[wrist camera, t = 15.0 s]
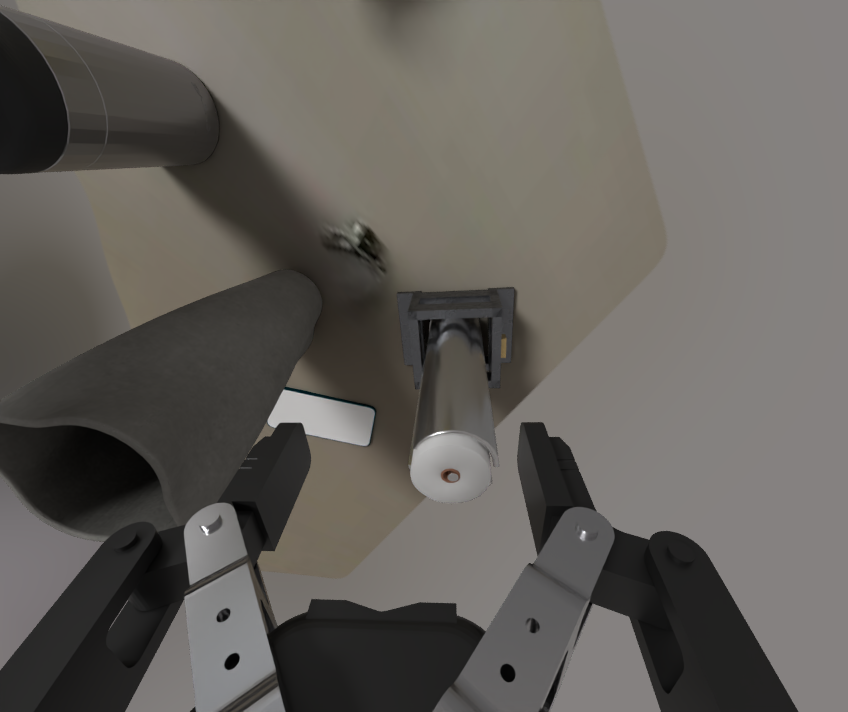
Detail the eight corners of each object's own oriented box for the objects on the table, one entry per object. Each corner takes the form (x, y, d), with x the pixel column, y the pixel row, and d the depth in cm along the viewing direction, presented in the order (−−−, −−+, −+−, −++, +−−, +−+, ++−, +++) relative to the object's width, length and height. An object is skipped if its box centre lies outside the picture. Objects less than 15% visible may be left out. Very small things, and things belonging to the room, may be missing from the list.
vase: (334, 355, 51) (203, 573, 24) (245, 336, 50) (16, 538, 24) (341, 267, 45) (178, 432, 18) (240, 246, 44) (-72, 383, 18)
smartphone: (377, 404, 55) (269, 381, 54) (376, 408, 54) (267, 385, 53) (370, 444, 59) (269, 423, 58) (368, 448, 58) (266, 427, 57)
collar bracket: (405, 362, 50) (398, 389, 45) (397, 292, 46) (389, 312, 40) (510, 360, 49) (517, 387, 43) (513, 287, 44) (522, 307, 39)
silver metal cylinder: (455, 359, 49) (454, 522, 28) (418, 328, 48) (387, 476, 26) (491, 326, 47) (521, 479, 25) (454, 293, 45) (451, 424, 23)
